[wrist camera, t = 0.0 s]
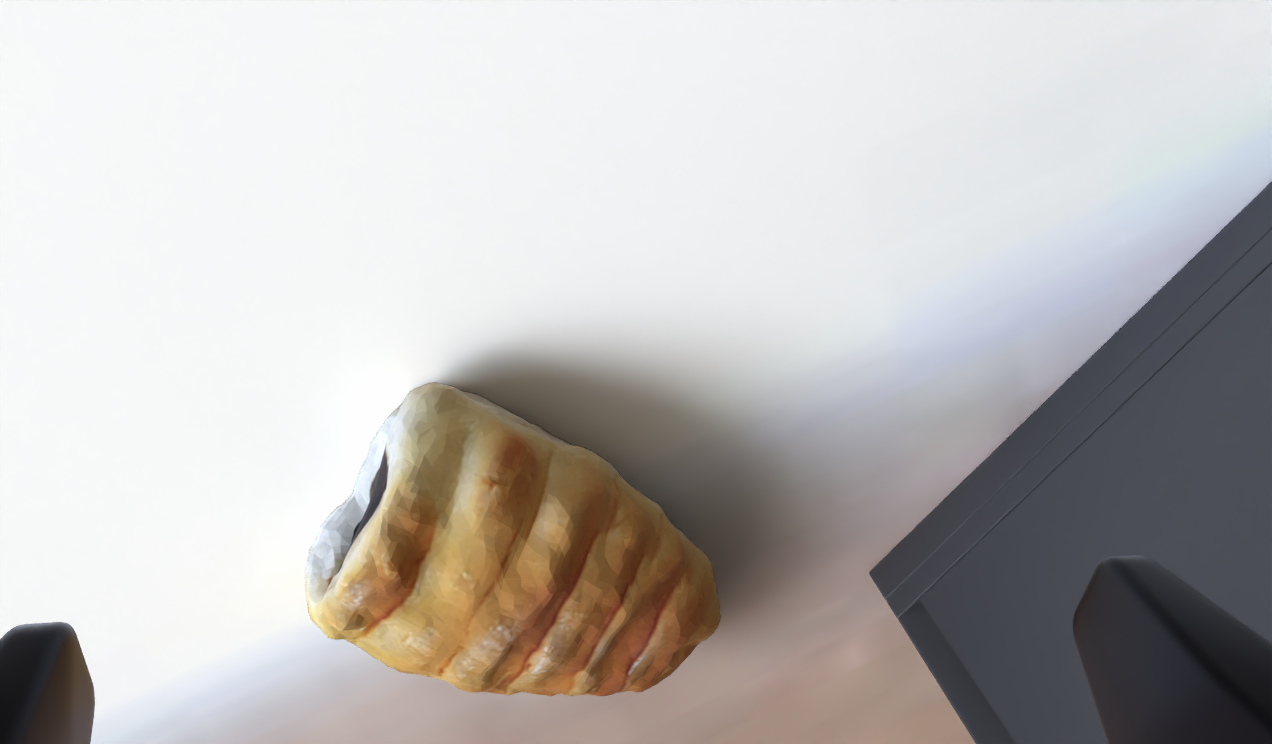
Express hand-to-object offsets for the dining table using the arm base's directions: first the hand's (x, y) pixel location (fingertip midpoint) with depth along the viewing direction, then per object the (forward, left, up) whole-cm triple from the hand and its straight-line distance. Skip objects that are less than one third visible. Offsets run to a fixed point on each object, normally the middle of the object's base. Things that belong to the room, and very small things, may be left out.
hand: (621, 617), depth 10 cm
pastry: (-6, -5, -16) cm, 18 cm away
